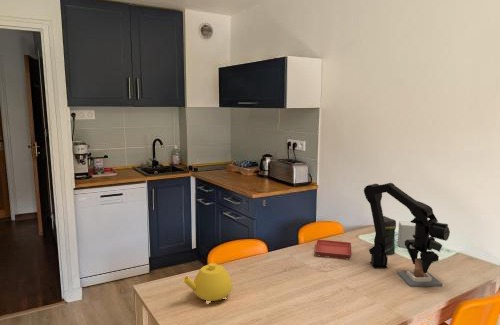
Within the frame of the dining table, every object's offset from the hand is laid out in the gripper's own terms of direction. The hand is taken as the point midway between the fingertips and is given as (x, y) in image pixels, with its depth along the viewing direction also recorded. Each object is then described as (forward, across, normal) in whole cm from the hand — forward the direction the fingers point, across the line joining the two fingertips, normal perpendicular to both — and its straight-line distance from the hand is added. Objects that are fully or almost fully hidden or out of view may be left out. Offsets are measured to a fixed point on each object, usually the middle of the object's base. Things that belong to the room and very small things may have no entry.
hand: (419, 268), depth 167 cm
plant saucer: (+6, +34, +29) cm, 45 cm away
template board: (+5, 0, 0) cm, 5 cm away
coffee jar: (+5, +32, +2) cm, 33 cm away
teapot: (+5, -12, +92) cm, 93 cm away
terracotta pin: (+4, 0, 0) cm, 4 cm away
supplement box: (+5, +40, -13) cm, 43 cm away
